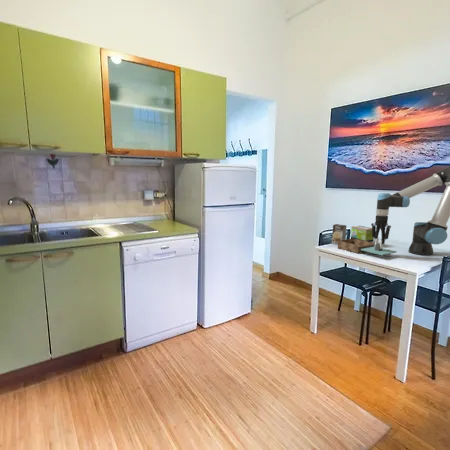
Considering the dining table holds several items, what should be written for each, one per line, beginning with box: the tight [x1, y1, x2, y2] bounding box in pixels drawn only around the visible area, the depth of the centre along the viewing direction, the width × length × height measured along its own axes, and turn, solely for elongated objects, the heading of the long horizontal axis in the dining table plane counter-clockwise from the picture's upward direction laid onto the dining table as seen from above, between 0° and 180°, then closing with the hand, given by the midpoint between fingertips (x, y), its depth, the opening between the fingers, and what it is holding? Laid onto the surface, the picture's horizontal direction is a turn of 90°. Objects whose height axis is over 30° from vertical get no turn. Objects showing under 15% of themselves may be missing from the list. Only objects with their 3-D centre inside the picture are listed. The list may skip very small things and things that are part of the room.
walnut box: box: [337, 238, 375, 254], centre depth 217 cm, size 18×18×6 cm
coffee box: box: [331, 223, 347, 245], centre depth 236 cm, size 9×6×16 cm
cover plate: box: [361, 243, 397, 256], centre depth 201 cm, size 16×16×5 cm
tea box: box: [350, 225, 374, 243], centre depth 234 cm, size 15×10×15 cm, turn 25°
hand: (378, 247), depth 201 cm, fingers closed on cover plate, 3 cm apart
